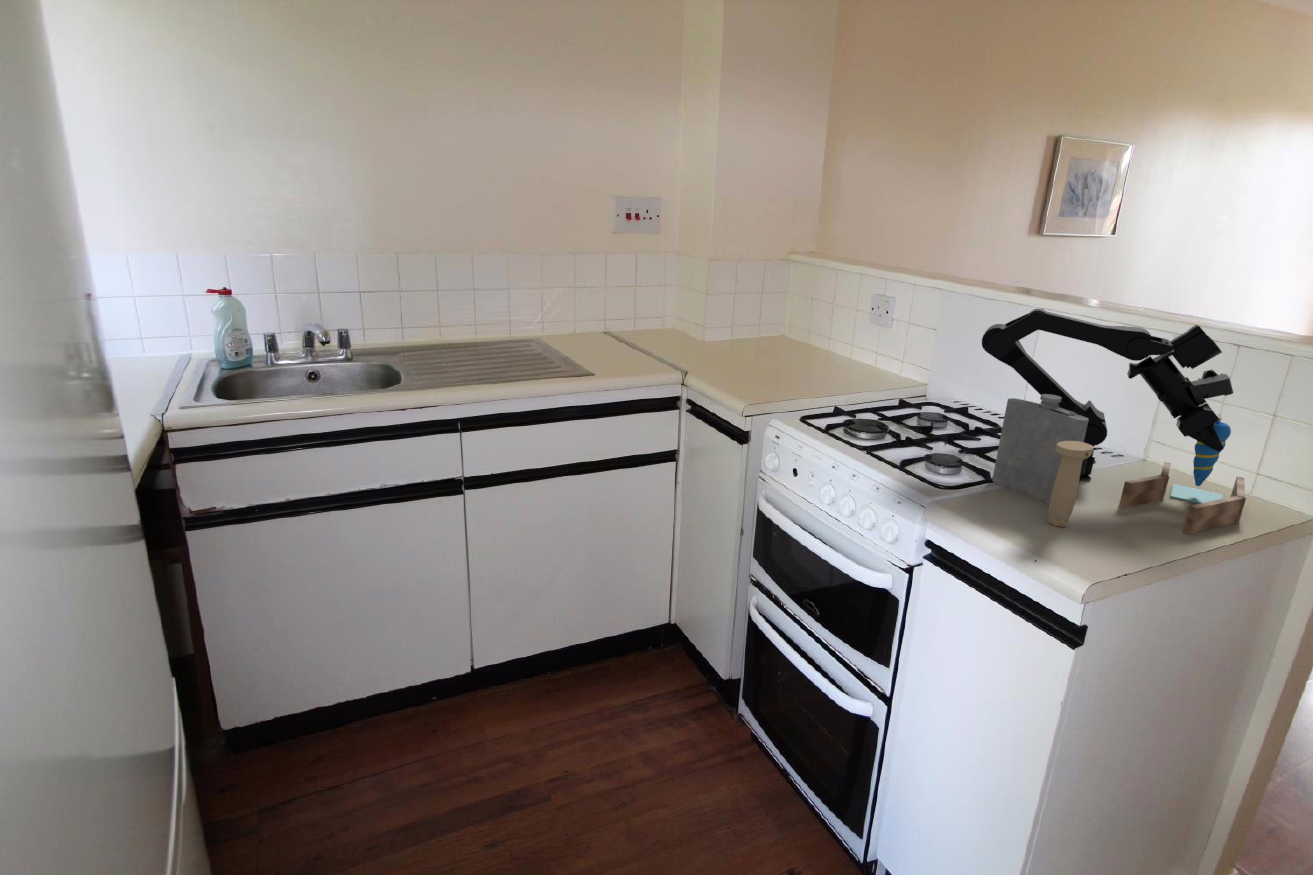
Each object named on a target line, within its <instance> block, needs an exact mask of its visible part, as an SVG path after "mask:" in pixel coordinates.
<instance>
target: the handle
mask: <svg viewBox="0 0 1313 875" xmlns="http://www.w3.org/2000/svg"><path fill="white" fill-rule="evenodd" d="M1093 450H1095V446H1092V445H1090V444H1087V443H1084V442H1079V441H1062V442H1059V443H1057V445H1056V452H1057V453H1058V454H1060V455H1061V456H1062V458H1061V463H1060V466H1059V470H1058V473H1057V477H1056V480H1055V483H1054V487H1053V490H1052V494H1051V499H1050V504H1049V506H1048V507H1049V508H1048V514H1049V516H1048V524H1050V525H1053V526H1054V527H1061V528H1065V527H1067V525H1068V523H1069V519H1070V518H1071V516H1072V513H1073V511H1074V507H1075V504H1076V500H1077V496H1078V490H1079V482H1080V479H1079V478H1080V472H1081V466H1082V462H1083V459H1086V458H1088V457H1089V456H1091V454H1092V453H1093ZM1093 454H1094V453H1093Z"/></svg>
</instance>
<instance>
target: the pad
mask: <svg viewBox="0 0 1313 875" xmlns="http://www.w3.org/2000/svg"><path fill="white" fill-rule="evenodd" d="M1169 498H1170V499H1175V500H1179V501H1184V502H1187V503H1193V504H1200V503H1205V502H1210V501H1214V500H1219V499H1223V493H1218V492H1212V491H1208V490H1204V489H1201V488H1193V487H1189V486H1185V485H1179V484H1176V483H1175V484H1174V483H1173V484H1172V487H1171V492H1170V497H1169Z"/></svg>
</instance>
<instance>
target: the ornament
mask: <svg viewBox="0 0 1313 875" xmlns="http://www.w3.org/2000/svg"><path fill="white" fill-rule="evenodd" d="M1221 416H1222V415H1221V414H1218V416H1217V417H1218V418H1219V419H1218V420H1217V421H1216V422H1215V423H1214V429H1215V431H1216V433H1217V435H1218V437H1219V440H1220V442H1221V444H1222V446H1223V448H1225V447H1226V441H1227V440H1228V438H1230V436H1231V433H1232V429H1231V426H1230V425H1229V424H1228V423H1226V422H1223V421H1222V417H1221ZM1222 451H1223V450H1221V451H1219V452H1218V451H1216V450H1214V449H1212V448H1210V447H1208V446H1207V445H1205V444H1203V443H1201V442H1199V441H1197V440H1196V443H1195V445H1194V453H1195V456H1194V457H1193V478H1194V485H1195V486H1196V487H1201V486H1202V484H1203V483H1204V482H1205V481H1206V480H1207V478H1208V477H1210V475H1211V474H1212V472H1213V470H1214V465H1215V464H1216V463H1217V461H1218V460H1219V458H1220V454H1221V452H1222Z"/></svg>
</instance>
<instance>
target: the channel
mask: <svg viewBox="0 0 1313 875" xmlns="http://www.w3.org/2000/svg"><path fill="white" fill-rule="evenodd" d="M1171 465H1172V463H1171V462H1166V461H1164V462H1163V465H1162V469H1161V472H1160V473H1161V474H1158V475H1153V476H1147V477H1141V478H1135V479H1130V480H1129V479H1128V480H1125V481H1124V484H1123V488H1122V492H1121V496H1120V499H1119V504H1118V506H1120V507H1122V508H1124V509H1125V508H1129V507H1135V506H1139V505H1145V504H1149V503H1153V502H1155V503H1156V502H1159V501H1160V502H1162V501H1164V497H1165V495H1166V491H1167V488H1168V484H1169V480H1170V476H1169V474H1170V469H1171ZM1245 485H1246V484H1245V477H1242V476H1236V478H1235V481H1234V485H1233V488H1232V490H1231V495H1230V497H1224V498H1222V499H1219V500H1214V501H1210V502H1205V503H1200V504H1196V503H1194V504H1191V505H1189V507H1188V510H1187V514H1186V517H1185V520H1184V524H1183V528H1182V532H1183V533H1185V534H1188V535H1191V534H1195V533H1199V532H1203V531H1207V530H1208V531H1209V530H1212V529H1213V530H1214V529H1218V528H1221V527H1224V526H1225V527H1226V526H1228V525H1233V524H1234V525H1235V524H1238V523H1240V520H1241V516H1242V514H1243V510H1244V508H1245V504H1246V501H1247V497H1246V489H1245V488H1246V486H1245Z"/></svg>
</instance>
